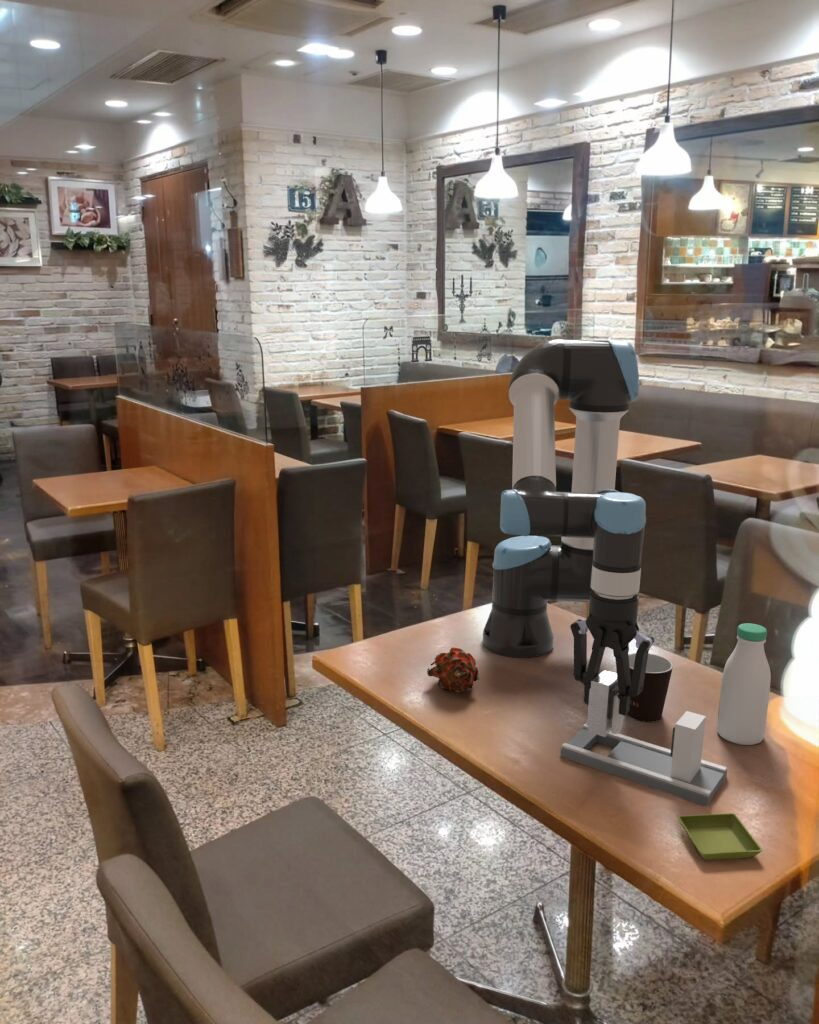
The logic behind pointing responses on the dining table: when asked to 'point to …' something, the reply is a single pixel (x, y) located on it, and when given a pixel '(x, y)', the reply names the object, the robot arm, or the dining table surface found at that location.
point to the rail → (655, 760)
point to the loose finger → (602, 703)
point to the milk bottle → (745, 688)
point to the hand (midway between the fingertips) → (604, 726)
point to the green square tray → (719, 836)
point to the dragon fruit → (455, 670)
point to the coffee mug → (651, 689)
